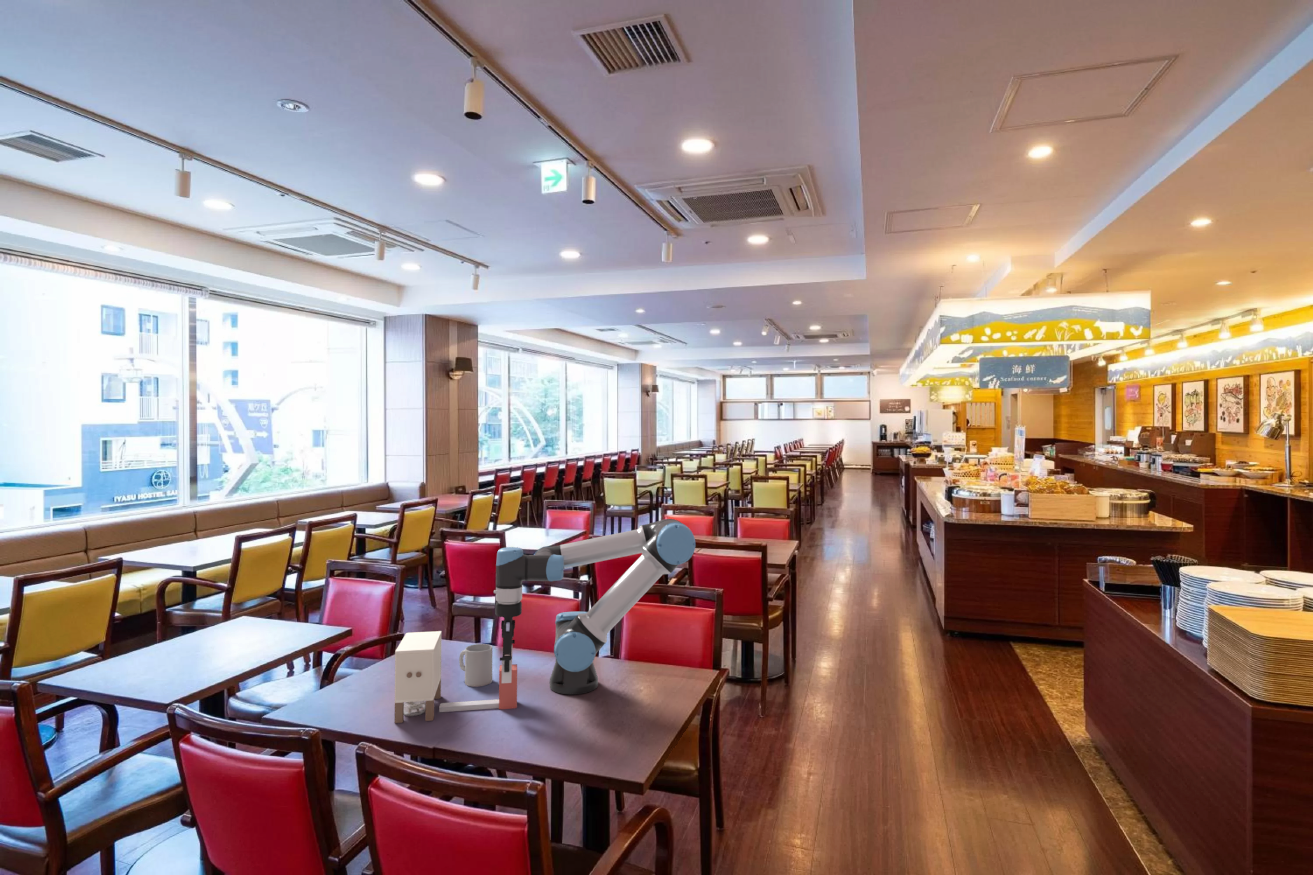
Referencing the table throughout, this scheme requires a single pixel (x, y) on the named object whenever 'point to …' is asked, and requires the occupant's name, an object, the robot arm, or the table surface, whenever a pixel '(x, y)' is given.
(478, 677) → the mug
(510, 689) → the red mallet
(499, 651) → the table surface
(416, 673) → the cabinet
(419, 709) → the token
